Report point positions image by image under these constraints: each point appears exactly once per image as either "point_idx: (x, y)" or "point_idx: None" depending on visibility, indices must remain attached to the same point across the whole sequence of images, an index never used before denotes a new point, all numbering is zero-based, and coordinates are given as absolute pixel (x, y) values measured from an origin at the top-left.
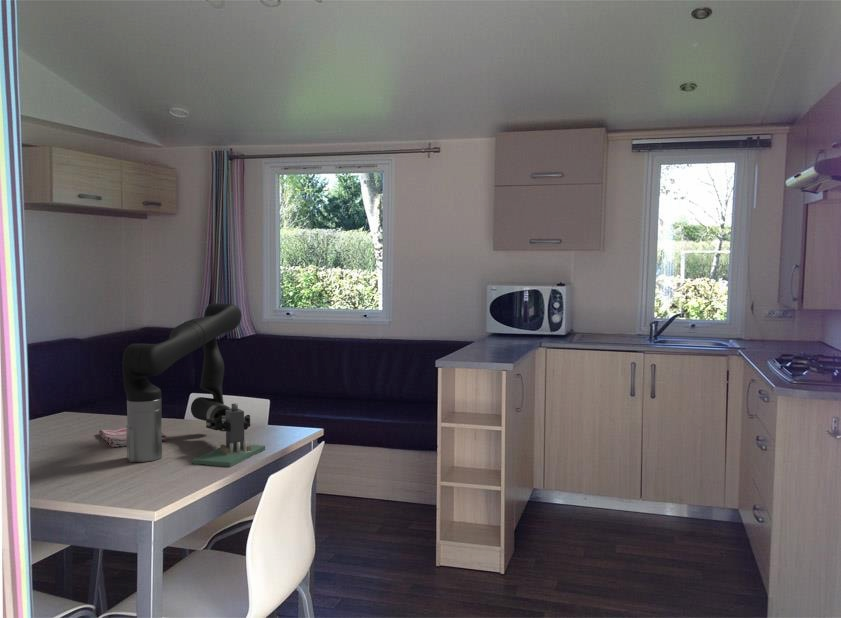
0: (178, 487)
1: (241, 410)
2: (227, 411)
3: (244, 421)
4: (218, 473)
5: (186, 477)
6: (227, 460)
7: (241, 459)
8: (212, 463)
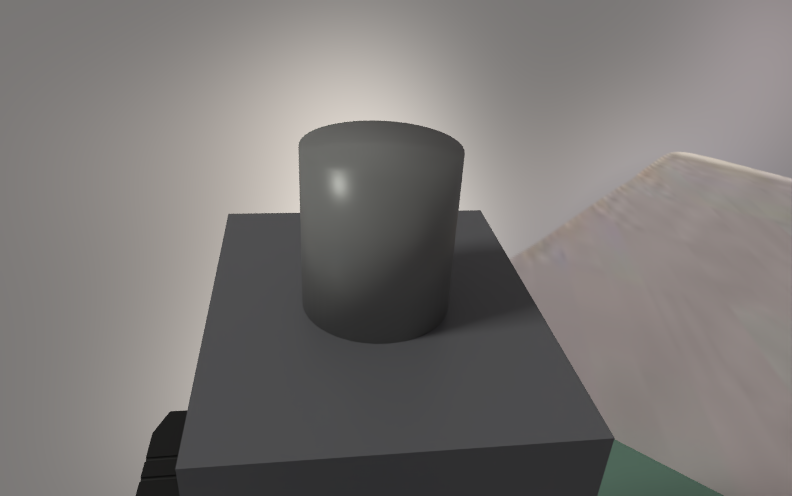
0: (674, 239)
1: (234, 269)
2: (542, 327)
3: None
4: None
5: (687, 315)
6: None
7: None
8: None
